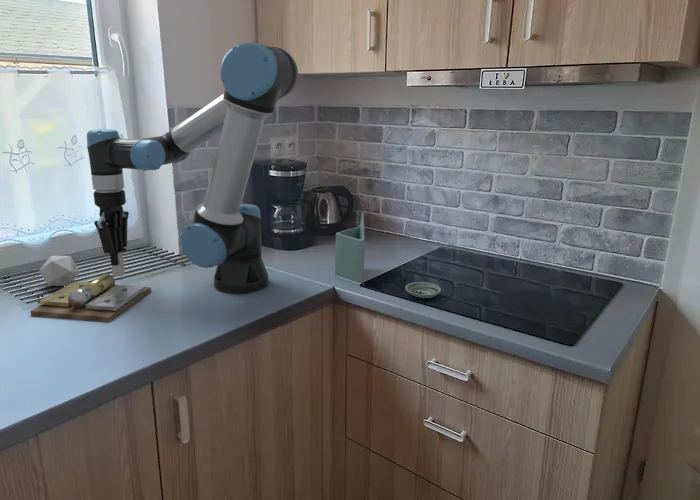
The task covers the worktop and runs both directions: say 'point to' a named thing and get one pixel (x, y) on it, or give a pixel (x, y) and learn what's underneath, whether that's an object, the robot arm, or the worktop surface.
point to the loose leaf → (62, 295)
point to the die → (59, 271)
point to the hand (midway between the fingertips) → (118, 275)
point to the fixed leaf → (104, 297)
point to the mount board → (85, 310)
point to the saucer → (423, 289)
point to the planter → (350, 253)
